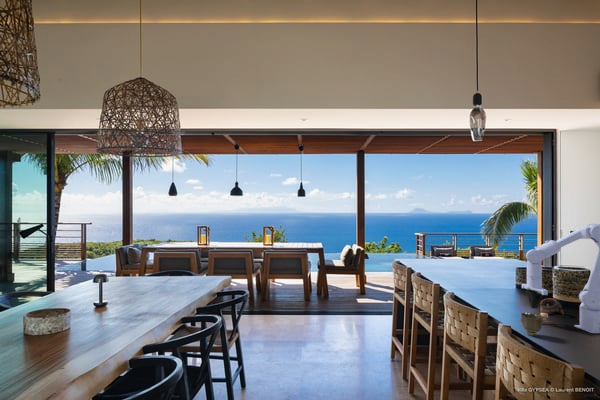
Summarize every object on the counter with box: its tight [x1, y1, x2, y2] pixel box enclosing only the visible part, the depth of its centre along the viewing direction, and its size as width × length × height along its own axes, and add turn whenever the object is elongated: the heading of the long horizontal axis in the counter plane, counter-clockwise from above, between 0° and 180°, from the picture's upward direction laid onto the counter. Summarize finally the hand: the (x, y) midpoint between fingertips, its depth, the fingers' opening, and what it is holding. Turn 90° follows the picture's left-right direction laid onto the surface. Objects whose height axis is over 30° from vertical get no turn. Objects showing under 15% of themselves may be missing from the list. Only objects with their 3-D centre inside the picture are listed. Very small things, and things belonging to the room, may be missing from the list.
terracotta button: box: [539, 312, 549, 319], centre depth 167 cm, size 3×3×2 cm
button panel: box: [519, 317, 553, 325], centre depth 167 cm, size 5×11×1 cm, turn 93°
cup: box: [520, 312, 543, 337], centre depth 150 cm, size 8×7×8 cm
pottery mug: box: [539, 297, 565, 316], centre depth 184 cm, size 12×10×8 cm
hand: (534, 307), depth 167 cm, fingers closed
